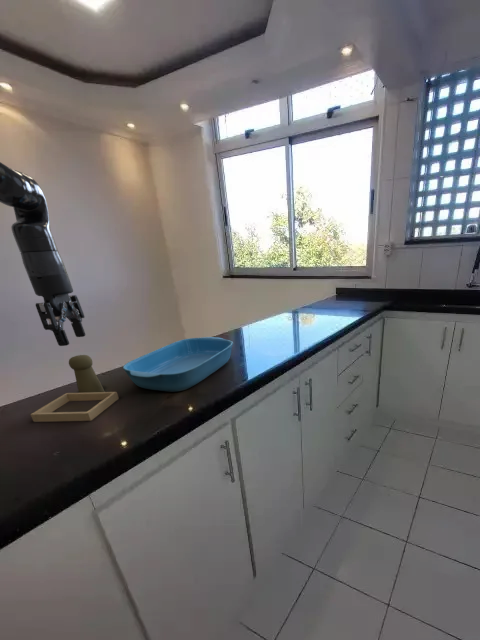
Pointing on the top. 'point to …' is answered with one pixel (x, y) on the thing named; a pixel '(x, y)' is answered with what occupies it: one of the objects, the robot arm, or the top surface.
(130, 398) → the top surface
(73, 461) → the top surface
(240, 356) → the top surface
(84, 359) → the olive knobbed cone
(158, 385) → the casserole dish
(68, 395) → the wooden frame
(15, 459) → the top surface
